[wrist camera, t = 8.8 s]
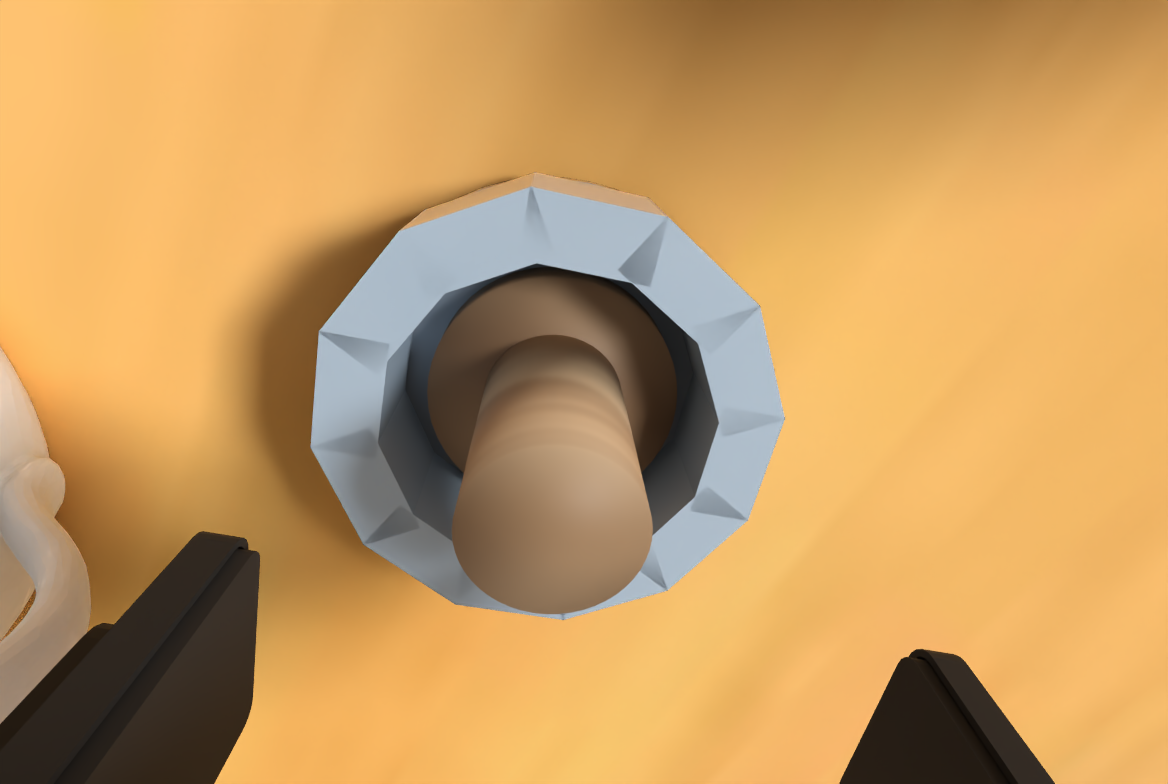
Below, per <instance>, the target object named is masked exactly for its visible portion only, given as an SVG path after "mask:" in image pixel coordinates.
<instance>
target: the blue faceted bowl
mask: <svg viewBox="0 0 1168 784" xmlns="http://www.w3.org/2000/svg"><path fill="white" fill-rule="evenodd" d="M538 267H557V268H562V269H567V270H572V271H577V272H581V273H586V274H591V275H596V276H601V277H603V278H606V279H608V280H610V281H611V282H613V283H615V284H617V285H618V286H620V287H622V288H623V289H624V290H626V291H627V292H628V293H629V294H631V295H632V296H633V297H635V299H636V300H637V301H638V302H639V303H640V304H641V305H642V306H643V307H644V308H645V309H646V310H647V312H648V313H649V314H650V316H651V317H652V319H653V320H654V321H655V323H656V325H657V327H658V329H659V331H660V333H661V335H662V337H663V339H664V341H665V343H666V345H667V348H668V350H669V353H670V356H671V358H672V361H673V364H674V369H675V374H676V380H677V404H676V411H675V415H674V420H673V423H672V426H671V429H670V432H669V434H668V437H667V439H666V440H665V442H664V444H663V446H662V448H661V450H660V451H659V452H658V454H657V455H656V457H655V458H654V459H653V461H652V462H651V463H650V464H649V465H648V466H647V467H646V468H645V469H644V470H643V472H641V474H642V478H643V482H644V486H645V491H646V495H647V499H648V503H649V508H650V512H651V516H652V525H653V533H652V542H651V546H650V551H649V553H648V556H647V558H646V561H645V563H644V564H643V566H642V568H641V570H640V571H639V572H638V574H637V575H636V576H635V578H634V579H633V580H632V581H631V582H630V583H629V584H628V585H627V586H626V587H625V588H624V589H623V590H621V591H620V592H619V593H618V594H616V595H615V596H613V597H611V598H610V599H608V600H607V601H605V602H603V603H600V604H598V605H596V606H594V607H591V608H588V609H585V610H581V611H577V612H572V613H564V614H538V613H531V612H526V611H521V610H518V609H515V608H512V607H509V606H507V605H505V604H502V603H500V602H498V601H496V600H495V599H493V598H491V597H490V596H488V595H487V594H486V593H484V592H483V591H482V590H480V589H479V588H478V587H477V586H476V585H475V584H474V583H473V582H472V581H471V580H470V578H469V577H468V576H467V575H466V573H465V572H464V570H463V568H462V567H461V565H460V563H459V561H458V559H457V556H456V554H455V550H454V546H453V542H452V521H453V516H454V512H455V507H456V503H457V499H458V495H459V491H460V487H461V483H462V479H463V475H464V473H463V472H462V471H461V470H460V469H459V468H458V467H457V465H456V464H455V463H454V462H453V461H452V460H451V458H450V457H449V456H448V454H447V453H446V452H445V450H444V449H443V447H442V445H441V443H440V441H439V439H438V437H437V435H436V433H435V430H434V427H433V425H432V422H431V417H430V413H429V408H428V396H427V388H428V376H429V372H430V367H431V362H432V360H433V357H434V354H435V352H436V349H437V347H438V344H439V342H440V340H441V338H442V336H443V334H444V332H445V330H446V328H447V327H448V325H449V323H450V321H451V319H452V318H453V317H454V315H455V314H456V313H457V311H458V310H459V309H460V307H461V306H462V305H463V304H464V303H465V302H466V301H467V300H468V299H469V298H470V297H471V296H473V295H474V294H475V293H476V292H478V291H479V290H480V289H482V288H483V287H484V286H486V285H488V284H490V283H491V282H493V281H495V280H497V279H499V278H501V277H504V276H506V275H509V274H511V273H514V272H518V271H522V270H526V269H530V268H538ZM784 420H785V417H784V413H783V408H782V404H781V399H780V395H779V390H778V386H777V381H776V377H775V372H774V367H773V363H772V358H771V354H770V349H769V345H768V340H767V336H766V331H765V327H764V322H763V318H762V313H761V309H760V305H759V304H758V303H757V302H756V301H754V300H753V299H752V298H751V297H750V296H749V295H748V294H747V293H746V292H745V291H744V290H743V289H742V288H741V287H740V286H739V285H738V284H737V283H736V282H735V281H734V280H733V279H732V278H731V277H730V276H729V275H728V274H727V273H726V272H724V271H723V270H722V269H721V268H720V267H719V266H718V265H717V264H716V263H715V262H714V261H713V260H712V259H711V258H710V257H709V256H708V255H707V254H706V253H705V252H704V251H703V250H702V249H701V248H700V247H699V246H697V245H696V244H695V243H694V242H693V241H692V240H691V239H690V238H689V237H688V236H687V235H686V234H685V233H684V232H683V231H682V230H681V229H680V228H679V227H678V226H677V225H676V224H675V223H674V222H673V221H672V220H671V219H670V218H669V217H668V216H667V215H666V214H665V213H664V212H663V211H662V210H661V209H660V208H659V207H658V206H657V205H656V204H655V203H654V202H653V201H652V200H651V199H650V198H649V197H644V196H640V195H635V194H631V193H626V192H622V191H619V190H617V189H614V188H611V187H607V186H604V185H600V184H597V183H594V182H590V181H584V180H577V179H571V178H564V177H555V176H550V175H546V174H541V173H537V172H534V173H531V174H528V175H525V176H522V177H519V178H516V179H513V180H508V181H505V182H501V183H497V184H493V185H490V186H486V187H482V188H480V189H478V190H475V191H473V192H471V193H468V194H466V195H463V196H461V197H459V198H457V199H454V200H452V201H449V202H446V203H443V204H440V205H437V206H434V207H431V208H428V209H425V210H424V211H423V212H421V213H420V214H419V215H418V216H417V217H415V218H414V219H413V220H412V221H410V222H409V223H408V224H407V225H405V226H404V227H403V228H402V229H401V230H399V231H398V233H397V234H396V235H395V237H394V238H393V239H392V240H391V242H390V243H389V244H388V245H387V247H386V248H385V249H384V250H383V252H382V253H381V254H380V255H379V257H378V258H377V259H376V260H375V262H374V263H373V264H372V265H371V267H370V268H369V269H368V270H367V272H366V273H365V274H364V276H363V277H362V278H361V279H360V281H359V282H358V283H357V284H356V286H355V287H354V288H353V289H352V291H351V292H350V293H349V294H348V296H347V297H346V298H345V299H344V301H343V302H342V303H341V304H340V306H339V307H338V308H337V309H336V311H335V312H334V313H333V314H332V316H331V317H330V318H329V319H328V321H327V322H326V323H325V324H324V326H323V327H322V328H321V329H320V330H319V337H318V351H317V365H316V379H315V392H314V406H313V420H312V434H311V446H310V447H311V449H312V451H313V453H314V455H315V456H316V458H317V460H318V462H319V464H320V466H321V467H322V469H323V471H324V473H325V475H326V477H327V479H328V480H329V482H330V484H331V486H332V488H333V490H334V491H335V493H336V495H337V497H338V499H339V501H340V502H341V504H342V506H343V508H344V510H345V512H346V513H347V515H348V517H349V519H350V521H351V523H352V524H353V526H354V528H355V530H356V532H357V534H358V535H359V537H360V539H361V541H362V543H363V545H365V546H366V547H368V548H369V549H371V550H373V551H374V552H376V553H377V554H379V555H380V556H382V557H383V558H385V559H386V560H388V561H389V562H391V563H392V564H394V565H396V566H397V567H399V568H400V569H402V570H403V571H405V572H406V573H408V574H409V575H411V576H412V577H414V578H415V579H417V580H419V581H420V582H422V583H423V584H425V585H426V586H428V587H429V588H431V589H432V590H434V591H435V592H437V593H439V594H440V595H442V596H443V597H445V598H446V599H448V600H449V601H451V602H452V603H454V604H455V605H463V606H470V607H477V608H484V609H491V610H498V611H505V612H512V613H519V614H526V615H533V616H540V617H547V618H554V619H561V620H565V619H568V618H572V617H575V616H579V615H582V614H586V613H589V612H593V611H597V610H600V609H604V608H607V607H611V606H614V605H618V604H621V603H625V602H628V601H632V600H636V599H639V598H643V597H646V596H650V595H653V594H657V593H660V592H664V591H668V589H670V588H671V587H672V586H673V585H674V584H675V583H676V582H678V581H679V580H680V579H681V578H682V577H683V576H685V575H686V574H687V573H688V572H689V571H690V570H691V569H693V568H694V567H695V566H696V565H697V564H698V563H699V562H701V561H702V560H703V559H704V558H705V557H706V556H707V555H709V554H710V553H711V552H712V551H713V550H714V549H715V548H717V547H718V546H719V545H720V544H721V543H722V542H724V541H725V540H726V539H727V538H728V537H729V536H730V535H732V534H733V533H734V532H735V531H736V530H737V529H738V528H740V527H741V526H742V525H743V524H744V523H745V522H746V521H748V518H749V516H750V513H751V510H752V507H753V505H754V502H755V499H756V496H757V494H758V491H759V488H760V485H761V483H762V480H763V477H764V475H765V472H766V469H767V466H768V464H769V461H770V458H771V455H772V453H773V450H774V447H775V444H776V442H777V439H778V436H779V433H780V431H781V428H782V425H783V422H784Z"/></svg>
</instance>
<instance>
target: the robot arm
mask: <svg viewBox="0 0 1168 784" xmlns="http://www.w3.org/2000/svg"><path fill="white" fill-rule="evenodd" d="M259 569H260V555H259V553H258V552H257V551H251V550H248V543H247V540H246V539H244V538H240V537H234V536H228V535H222V534H216V533H210V532H204V531H203V532H199V533H198V534H196V535H195V536H194V537H193V538H192V539H191V540H190V541H189V542H188V544H187V545H186V546H185V547H184V548H183V549H182V550H181V551H180V552H179V554H178V555H177V556H176V557H175V558H174V559H173V560H172V561H171V562H170V564H169V565H168V566H167V567H166V568H165V569H164V570H163V571H162V572H161V573H160V575H159V576H158V577H157V578H156V579H155V580H154V581H153V582H152V583H151V585H150V586H149V587H148V588H147V589H146V590H145V591H144V592H143V593H142V595H141V596H140V597H139V598H138V599H137V600H136V601H135V602H134V603H133V604H132V606H131V607H130V608H129V609H128V610H127V611H126V612H125V613H124V614H123V616H122V617H121V618H120V619H119V620H118V621H117V622H116V623H115V624H107V623H102V624H100V625H97V626H95V627H93V628H92V629H91V630H90V631H88V632H87V633H86V634H85V635H84V636H83V637H82V638H81V639H80V640H79V641H78V642H77V643H76V644H75V645H74V646H73V647H72V648H71V649H70V651H69V652H68V653H67V654H66V655H65V656H64V657H63V658H62V659H61V660H60V661H59V662H58V663H57V664H56V665H55V666H54V667H53V669H52V670H51V671H50V672H49V673H48V674H47V675H46V676H45V677H44V678H43V679H42V680H41V681H40V682H39V683H38V684H37V685H36V687H35V688H34V689H33V690H32V691H31V692H30V693H29V694H28V695H27V696H26V697H25V698H24V699H23V700H22V701H21V702H20V704H19V705H18V706H17V707H16V708H15V709H14V710H13V711H12V712H11V713H10V714H9V715H8V716H7V717H6V718H5V719H4V720H3V722H2V723H1V724H0V784H214V783H215V781H216V779H217V777H218V775H219V774H220V772H221V770H222V768H223V766H224V764H225V762H226V761H227V759H228V757H229V755H230V753H231V751H232V749H233V747H234V746H235V744H236V742H237V740H238V738H239V736H240V734H241V732H242V731H243V729H244V726H245V724H246V722H247V719H248V717H249V713H250V710H251V706H252V700H253V684H254V665H255V646H256V627H257V608H258V588H259ZM840 784H1055V783H1054V781H1053V780H1052V779H1051V777H1050V776H1049V775H1048V773H1047V772H1046V771H1045V769H1044V768H1043V766H1042V765H1041V764H1040V762H1039V761H1038V760H1037V758H1036V757H1035V756H1034V754H1033V753H1032V752H1031V750H1030V749H1029V748H1028V746H1027V745H1026V743H1025V742H1024V741H1023V739H1022V738H1021V737H1020V735H1019V734H1018V733H1017V731H1016V730H1015V729H1014V727H1013V726H1012V724H1011V723H1010V722H1009V720H1008V719H1007V718H1006V716H1005V715H1004V714H1003V712H1002V711H1001V710H1000V708H999V707H998V706H997V704H996V703H995V701H994V700H993V699H992V697H991V696H990V695H989V693H988V692H987V691H986V689H985V688H984V687H983V685H982V684H981V683H980V681H979V680H978V678H977V677H976V676H975V674H974V673H973V672H972V670H971V669H970V668H969V666H968V665H967V664H966V662H965V661H964V660H963V659H962V658H961V657H959V656H957V655H954V654H948V653H942V652H936V651H930V650H924V649H916V650H915V651H913V652H912V653H911V654H910V655H909V657H904V658H903V659H901V660H900V662H899V663H898V665H897V667H896V669H895V671H894V673H893V675H892V677H891V679H890V681H889V683H888V685H887V687H886V689H885V691H884V693H883V695H882V697H881V699H880V701H879V703H878V705H877V707H876V709H875V711H874V714H873V716H872V718H871V720H870V722H869V724H868V726H867V728H866V730H865V732H864V734H863V736H862V738H861V740H860V742H859V744H858V746H857V748H856V750H855V752H854V754H853V756H852V758H851V760H850V762H849V764H848V766H847V768H846V770H845V772H844V774H843V776H842V778H841V781H840Z"/></svg>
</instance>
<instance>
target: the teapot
mask: <svg viewBox="0 0 1168 784" xmlns="http://www.w3.org/2000/svg"><path fill="white" fill-rule="evenodd" d="M64 495H65V478H64V474H63V472H62V471H61V469H60V467H59V465H58V464H57V463H56V462H54V461H53V460H51V459H50V458H49V453H48V448H47V443H46V440H45V437H44V434H43V431H42V428H41V425H40V422H39V419H38V416H37V413H36V411H35V409H34V406H33V404H32V402H31V400H30V397H29V395H28V393H27V391H26V390H25V388H24V386H23V384H22V382H21V380H20V379H19V377H18V375H17V373H16V371H15V370H14V368H13V366H12V364H11V363H10V361H9V359H8V358H7V356H6V355H5V353H4V351H3V350H2V348H1V347H0V641H1V639H2V638H3V637H4V636H5V635H6V633H7V632H8V631H9V629H10V628H11V626H12V625H13V624H14V622H15V621H16V619H17V618H18V616H19V615H20V614H21V612H22V611H23V609H24V607H25V606H26V604H27V602H28V601H29V599H30V597H31V595H32V594H33V592H34V590H35V589H36V597H35V600H34V603H33V605H32V606H31V608H30V609H29V611H28V613H27V614H26V616H25V617H24V618H23V620H22V621H21V622H20V623H19V624H18V625H17V626H16V627H15V629H14V630H13V631H12V632H11V633H10V634H9V635H8V636H7V637H5V638H4V639H3V640H2V641H1V642H0V724H1V723H2V722H3V720H4V719H5V718H6V717H7V716H8V715H9V714H10V713H11V712H12V711H13V710H14V709H15V708H16V707H17V706H18V705H19V704H20V702H21V701H22V700H23V699H24V698H25V697H26V696H27V695H28V694H29V693H30V692H31V691H32V690H33V689H34V688H35V687H36V685H37V684H38V683H39V682H40V681H41V680H42V679H43V678H44V677H45V676H46V675H47V674H48V673H49V672H50V671H51V670H52V669H53V667H54V666H55V665H56V664H57V663H58V662H59V661H60V660H61V659H62V658H63V657H64V656H65V655H66V654H67V653H68V652H69V651H70V649H71V648H72V647H73V646H74V645H75V644H76V643H77V642H78V641H79V640H80V639H81V638H82V637H83V636H84V635H85V634H86V633H87V631H88V627H89V621H90V614H91V596H90V582H89V577H88V571H87V566H86V564H85V562H84V559H83V557H82V555H81V553H80V551H79V549H78V547H77V546H76V544H75V542H74V541H73V540H72V538H71V537H70V535H69V534H68V533H67V532H66V531H65V529H64V528H63V527H62V526H61V525H60V524H59V523H58V521H57V520H56V519H55V518H54V517H55V515H56V513H57V511H58V510H59V508H60V506H61V504H62V503H63V499H64Z"/></svg>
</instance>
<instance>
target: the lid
mask: <svg viewBox="0 0 1168 784" xmlns="http://www.w3.org/2000/svg"><path fill="white" fill-rule="evenodd" d="M427 396H428V408H429V413H430V417H431V422H432V425H433V427H434V430H435V433H436V435H437V437H438V439H439V441H440V443H441V445H442V447H443V449H444V450H445V452H446V453H447V454H448V456H449V457H450V458H451V460H452V461H453V462H454V463H455V464H456V465H457V467H458V468H459V469H460V470H461V471H462V472H463V473H464V475H463V479H462V483H461V487H460V491H459V495H458V499H457V503H456V507H455V512H454V516H453V521H452V542H453V546H454V550H455V554H456V556H457V559H458V561H459V563H460V565H461V567H462V568H463V570H464V572H465V573H466V575H467V576H468V577H469V578H470V580H471V581H472V582H473V583H474V584H475V585H476V586H477V587H478V588H479V589H480V590H482V591H483V592H484V593H486V594H487V595H488V596H490V597H491V598H493V599H495V600H496V601H498V602H500V603H502V604H505V605H507V606H509V607H512V608H515V609H518V610H521V611H526V612H531V613H538V614H564V613H572V612H577V611H581V610H585V609H588V608H591V607H594V606H596V605H598V604H600V603H603V602H605V601H607V600H608V599H610V598H611V597H613V596H615V595H616V594H618V593H619V592H620V591H621V590H623V589H624V588H625V587H626V586H627V585H628V584H629V583H630V582H631V581H632V580H633V579H634V578H635V576H636V575H637V574H638V572H639V571H640V570H641V568H642V566H643V564H644V563H645V561H646V558H647V556H648V553H649V551H650V546H651V542H652V533H653V525H652V516H651V512H650V508H649V503H648V499H647V495H646V491H645V486H644V482H643V478H642V474H641V472H643V470H644V469H645V468H646V467H647V466H648V465H649V464H650V463H651V462H652V461H653V459H654V458H655V457H656V455H657V454H658V452H659V451H660V450H661V448H662V446H663V444H664V442H665V440H666V439H667V437H668V434H669V432H670V429H671V426H672V423H673V420H674V415H675V411H676V404H677V380H676V374H675V369H674V364H673V361H672V358H671V356H670V353H669V350H668V348H667V345H666V343H665V341H664V339H663V337H662V335H661V333H660V331H659V329H658V327H657V325H656V323H655V321H654V320H653V319H652V317H651V316H650V314H649V313H648V312H647V310H646V309H645V308H644V307H643V306H642V305H641V304H640V303H639V302H638V301H637V300H636V299H635V297H633V296H632V295H631V294H629V293H628V292H627V291H626V290H624V289H623V288H622V287H620V286H618V285H617V284H615V283H613V282H611V281H610V280H608V279H606V278H603V277H601V276H596V275H591V274H586V273H581V272H577V271H572V270H567V269H562V268H557V267H538V268H530V269H526V270H522V271H518V272H514V273H511V274H509V275H506V276H504V277H501V278H499V279H497V280H495V281H493V282H491V283H490V284H488V285H486V286H484V287H483V288H482V289H480V290H479V291H478V292H476V293H475V294H474V295H473V296H471V297H470V298H469V299H468V300H467V301H466V302H465V303H464V304H463V305H462V306H461V307H460V309H459V310H458V311H457V313H456V314H455V315H454V317H453V318H452V319H451V321H450V323H449V325H448V327H447V328H446V330H445V332H444V334H443V336H442V338H441V340H440V342H439V344H438V347H437V349H436V352H435V354H434V357H433V360H432V362H431V367H430V372H429V376H428V388H427Z"/></svg>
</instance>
